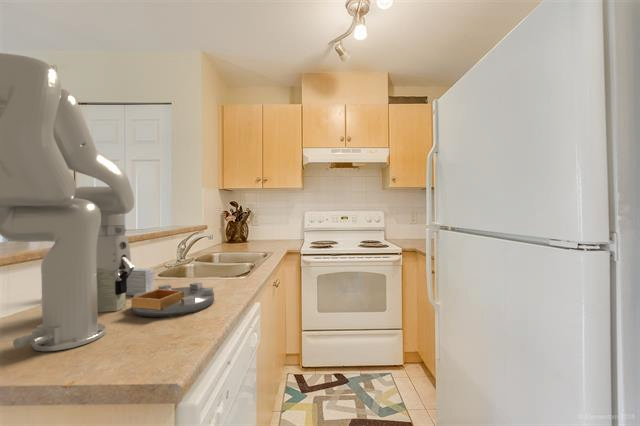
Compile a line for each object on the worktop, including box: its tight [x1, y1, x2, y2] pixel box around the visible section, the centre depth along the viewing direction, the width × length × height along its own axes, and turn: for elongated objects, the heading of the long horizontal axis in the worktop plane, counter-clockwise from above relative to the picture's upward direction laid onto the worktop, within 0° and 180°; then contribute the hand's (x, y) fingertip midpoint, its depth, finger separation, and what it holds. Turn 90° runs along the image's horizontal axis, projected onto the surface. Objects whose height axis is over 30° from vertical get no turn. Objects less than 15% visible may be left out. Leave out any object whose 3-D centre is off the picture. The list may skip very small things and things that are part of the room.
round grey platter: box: [131, 282, 215, 318], centre depth 90 cm, size 22×22×5 cm
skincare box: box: [97, 268, 127, 313], centre depth 87 cm, size 6×4×12 cm
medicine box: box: [125, 267, 155, 296], centre depth 103 cm, size 8×4×9 cm, turn 84°
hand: (110, 292), depth 87 cm, fingers closed on skincare box, 7 cm apart
